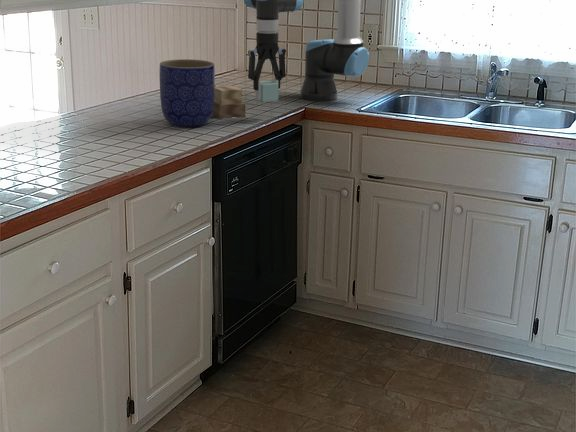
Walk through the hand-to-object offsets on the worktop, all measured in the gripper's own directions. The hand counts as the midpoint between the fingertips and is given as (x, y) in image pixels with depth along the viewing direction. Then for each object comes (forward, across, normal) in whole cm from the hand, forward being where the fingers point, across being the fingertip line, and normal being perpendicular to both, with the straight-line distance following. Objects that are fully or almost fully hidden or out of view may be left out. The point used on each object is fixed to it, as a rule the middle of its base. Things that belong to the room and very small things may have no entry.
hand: (266, 98), depth 286 cm
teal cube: (0, 0, 0) cm, 0 cm away
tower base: (+8, +10, -12) cm, 17 cm away
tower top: (+3, +10, -12) cm, 16 cm away
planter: (+7, +29, -3) cm, 30 cm away
